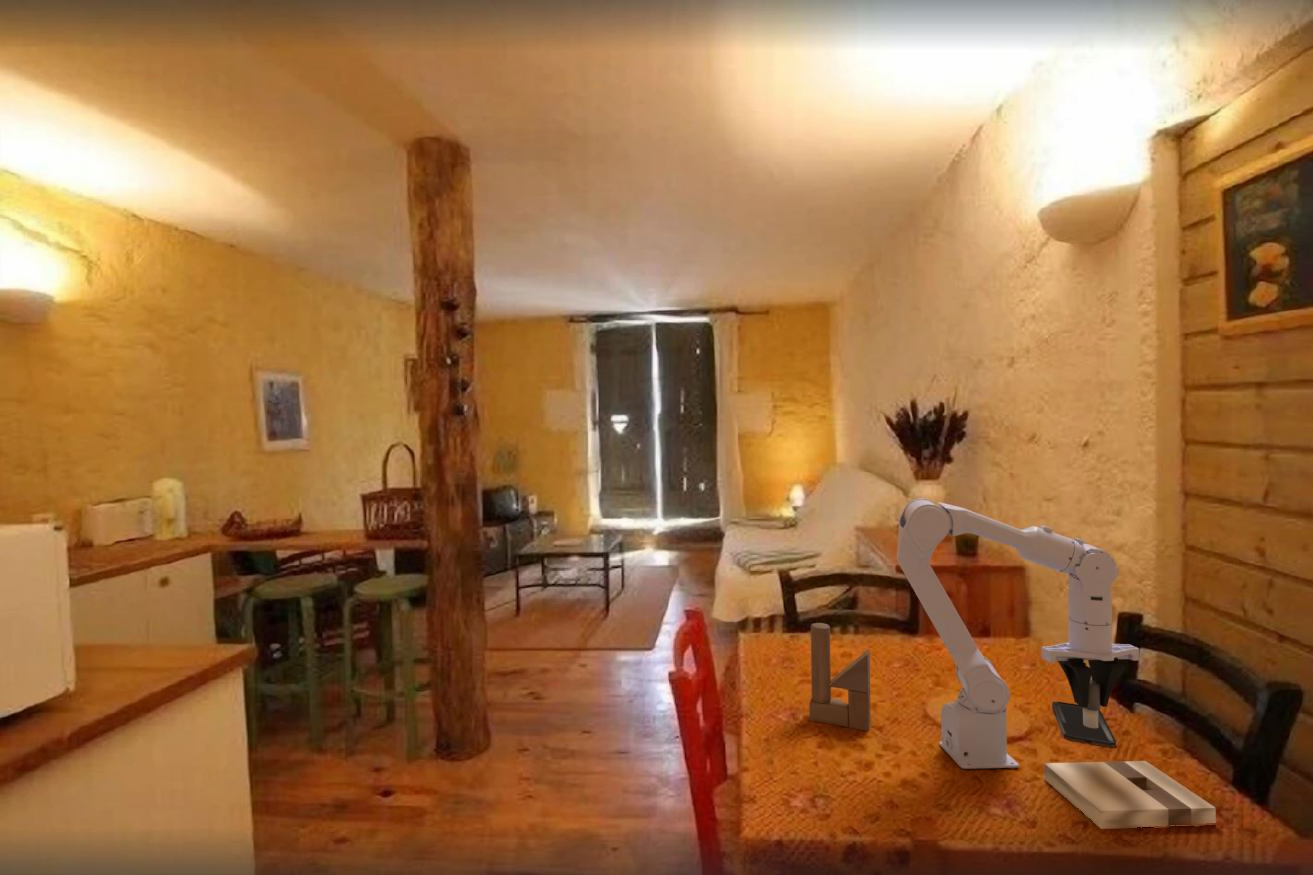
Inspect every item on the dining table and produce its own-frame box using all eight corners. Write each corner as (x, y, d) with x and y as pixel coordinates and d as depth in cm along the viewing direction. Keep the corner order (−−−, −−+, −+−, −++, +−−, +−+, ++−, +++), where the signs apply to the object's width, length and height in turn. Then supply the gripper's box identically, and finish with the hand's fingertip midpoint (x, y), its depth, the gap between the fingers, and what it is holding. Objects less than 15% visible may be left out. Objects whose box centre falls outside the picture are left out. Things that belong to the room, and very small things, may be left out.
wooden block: (868, 732, 112) (867, 634, 112) (809, 721, 117) (807, 626, 116) (870, 723, 115) (869, 628, 115) (812, 712, 120) (811, 621, 120)
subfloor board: (1100, 828, 84) (1100, 810, 84) (1044, 779, 96) (1044, 763, 96) (1215, 825, 85) (1215, 807, 85) (1145, 776, 97) (1145, 760, 97)
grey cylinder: (1088, 729, 98) (1088, 685, 98) (1077, 721, 100) (1076, 679, 100) (1104, 729, 98) (1104, 685, 98) (1092, 721, 100) (1092, 678, 100)
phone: (1098, 707, 119) (1117, 743, 105) (1098, 713, 119) (1117, 750, 105) (1050, 700, 122) (1062, 734, 109) (1050, 706, 122) (1062, 740, 109)
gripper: (1062, 629, 95) (1063, 717, 95) (1154, 627, 95) (1155, 714, 95) (1033, 615, 102) (1034, 697, 102) (1119, 613, 102) (1120, 694, 102)
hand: (1090, 704), depth 99 cm, fingers closed on grey cylinder, 3 cm apart
